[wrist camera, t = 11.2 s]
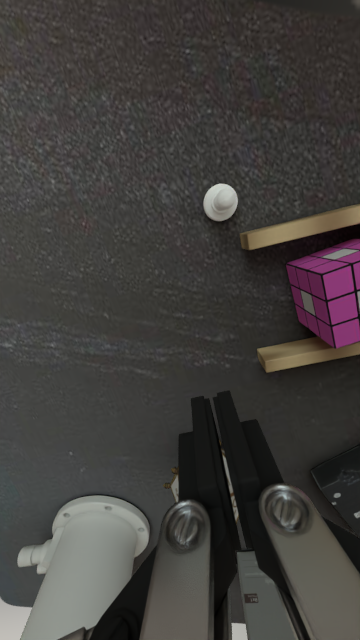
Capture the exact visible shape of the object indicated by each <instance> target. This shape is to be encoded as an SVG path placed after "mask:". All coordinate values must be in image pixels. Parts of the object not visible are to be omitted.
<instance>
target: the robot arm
mask: <svg viewBox="0 0 360 640" xmlns="http://www.w3.org/2000/svg"><path fill="white" fill-rule="evenodd" d="M217 395H218V397H213V400H214V405H215V410H216V415H217V419H218V424H219V429H220V433H221V438H222V443H223V447H224V452H225V457H226V462H227V466H228V471H229V476H230V480H231V485H232V489H233V493H234V497H235V502H236V506H237V510H238V514H239V518H240V523H241V527H242V531H243V535H244V539H245V544H246V548H247V549H249V548H254V552H255V557H256V561H257V564H258V568H259V569H260V570H261V571H262V572H264V573H265V574H266V575H267V576H268V577H269V578H270V579H272V580H273V581H274V585H275V588H276V590H277V593H278V595H279V598H280V601H281V603H282V606H283V608H284V611H285V613H286V616H287V618H288V621H289V623H290V626H291V629H292V631H293V634H294V636H295V639H296V640H360V538H358V537H356V536H354V535H353V534H351V533H349V532H348V531H346V530H344V529H342V528H341V527H339V526H337V525H336V524H334V523H332V522H330V521H329V520H327V519H325V518H324V517H322V516H321V515H320V514H319V512H318V511H317V509H316V508H315V506H314V505H313V503H312V502H311V500H310V499H309V498H308V497H307V496H306V494H305V493H304V492H302V491H301V490H300V489H298V488H297V487H295V486H292V485H290V484H286V483H284V481H283V479H282V477H281V474H280V472H279V470H278V467H277V465H276V463H275V460H274V458H273V456H272V453H271V451H270V449H269V447H268V444H267V442H266V440H265V437H264V435H263V433H262V430H261V428H260V426H259V423H258V421H257V420H256V419H255V420H250V421H244V422H240V421H239V418H238V415H237V412H236V409H235V406H234V403H233V400H232V397H231V394H230V391H224V392H219V393H217ZM191 406H192V420H193V432H188V433H183V434H179V470H178V502H176V503H174V504H173V505H172V506H171V507H170V508H169V509H168V510H167V512H166V514H165V515H164V517H163V520H162V523H161V528H160V533H159V538H158V544H157V546H156V547H155V548H154V549H153V551H152V552H151V553H150V555H149V556H148V557H147V558H146V560H145V561H144V562H143V564H142V565H141V566H140V567H139V569H138V570H137V571H136V573H135V574H134V575H133V576H132V570H133V563H134V558H135V557H137V556H138V555H139V554H140V553H142V552H143V551H144V549H145V548H146V546H147V544H148V541H149V534H150V527H149V523H148V520H147V519H146V517H145V516H144V514H143V513H142V512H141V511H140V510H139V509H138V508H136V507H135V506H133V505H132V504H130V503H128V502H126V501H124V500H121V499H118V498H115V497H110V496H101V495H93V496H85V497H80V498H77V499H75V500H72V501H70V502H68V503H67V504H65V505H64V506H63V507H62V508H61V509H60V510H59V512H58V513H57V515H56V518H55V520H54V522H53V525H52V533H53V538H52V539H50V540H47V541H46V542H45V543H44V544H42V545H39V544H36V545H30V546H24V547H23V548H22V549H21V551H20V553H19V555H18V566H19V567H25V566H32V565H35V564H38V566H37V573H38V574H44V573H46V575H45V578H44V580H43V583H42V585H41V588H40V590H39V593H38V595H37V598H36V600H35V603H34V605H33V608H32V610H31V613H30V616H29V618H28V621H27V623H26V626H25V628H24V631H23V633H22V636H21V638H20V640H232V626H231V597H230V587H229V586H230V584H231V582H232V580H233V579H234V577H235V575H236V573H237V567H236V564H237V559H236V553H235V551H236V550H241V545H240V540H239V535H238V530H237V525H236V520H235V515H234V510H233V505H232V500H231V495H230V490H229V485H228V480H227V475H226V470H225V465H224V460H223V455H222V450H221V446H220V442H219V438H218V434H217V429H216V425H215V421H214V417H213V413H212V409H211V405H210V400H209V398H208V399H204V396H200V397H195V398H191ZM131 577H132V578H131Z"/></svg>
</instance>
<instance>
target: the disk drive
mask: <svg viewBox="0 0 360 640" xmlns="http://www.w3.org/2000/svg"><path fill="white" fill-rule="evenodd" d="M310 472H311V474H312V476H313V477H314V479H315V481H316V483H317V485H318V487H319V489H320V490H321V491H322V493H323V494H324V496H325V497H326V498H327V500H328V501H329V502H330V503H331V504H332V505H333V506H334V507H335V509H336V510H337V511H338V512H339V513H340V515H341V516H342V517H343V518H344V520H345V521H346V522H347V523H348V524H349V526H350V527H351V528H352V529H353V530H354V532H355V533H356V534H357V535H358V537H359V538H360V446H358V447H355V448H353V449H351V450H349V451H347V452H345V453H343V454H341V455H339V456H337V457H335V458H333V459H331V460H328V461H327V462H324V463H323V464H321V465H320V466H318V467H316V468H315V469H312V470H311V471H310Z"/></svg>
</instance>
